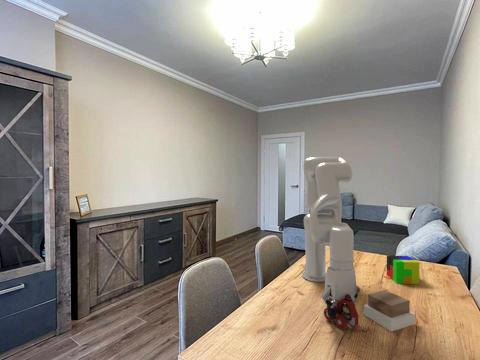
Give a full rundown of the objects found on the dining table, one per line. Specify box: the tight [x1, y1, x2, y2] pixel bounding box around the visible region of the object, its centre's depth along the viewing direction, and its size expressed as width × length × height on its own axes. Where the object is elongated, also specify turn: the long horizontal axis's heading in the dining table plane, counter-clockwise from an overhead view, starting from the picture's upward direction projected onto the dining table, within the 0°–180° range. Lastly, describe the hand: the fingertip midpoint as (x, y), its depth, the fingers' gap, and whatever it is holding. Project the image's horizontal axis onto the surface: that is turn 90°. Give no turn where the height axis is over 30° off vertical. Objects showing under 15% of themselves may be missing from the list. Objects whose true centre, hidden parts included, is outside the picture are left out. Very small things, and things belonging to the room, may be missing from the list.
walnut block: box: [367, 289, 411, 318], centre depth 92 cm, size 9×9×4 cm
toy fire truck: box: [323, 294, 359, 330], centre depth 89 cm, size 7×12×10 cm, turn 28°
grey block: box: [363, 303, 416, 332], centre depth 92 cm, size 11×11×4 cm
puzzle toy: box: [386, 255, 420, 285], centre depth 127 cm, size 10×10×10 cm
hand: (340, 315), depth 90 cm, fingers closed on toy fire truck, 7 cm apart
